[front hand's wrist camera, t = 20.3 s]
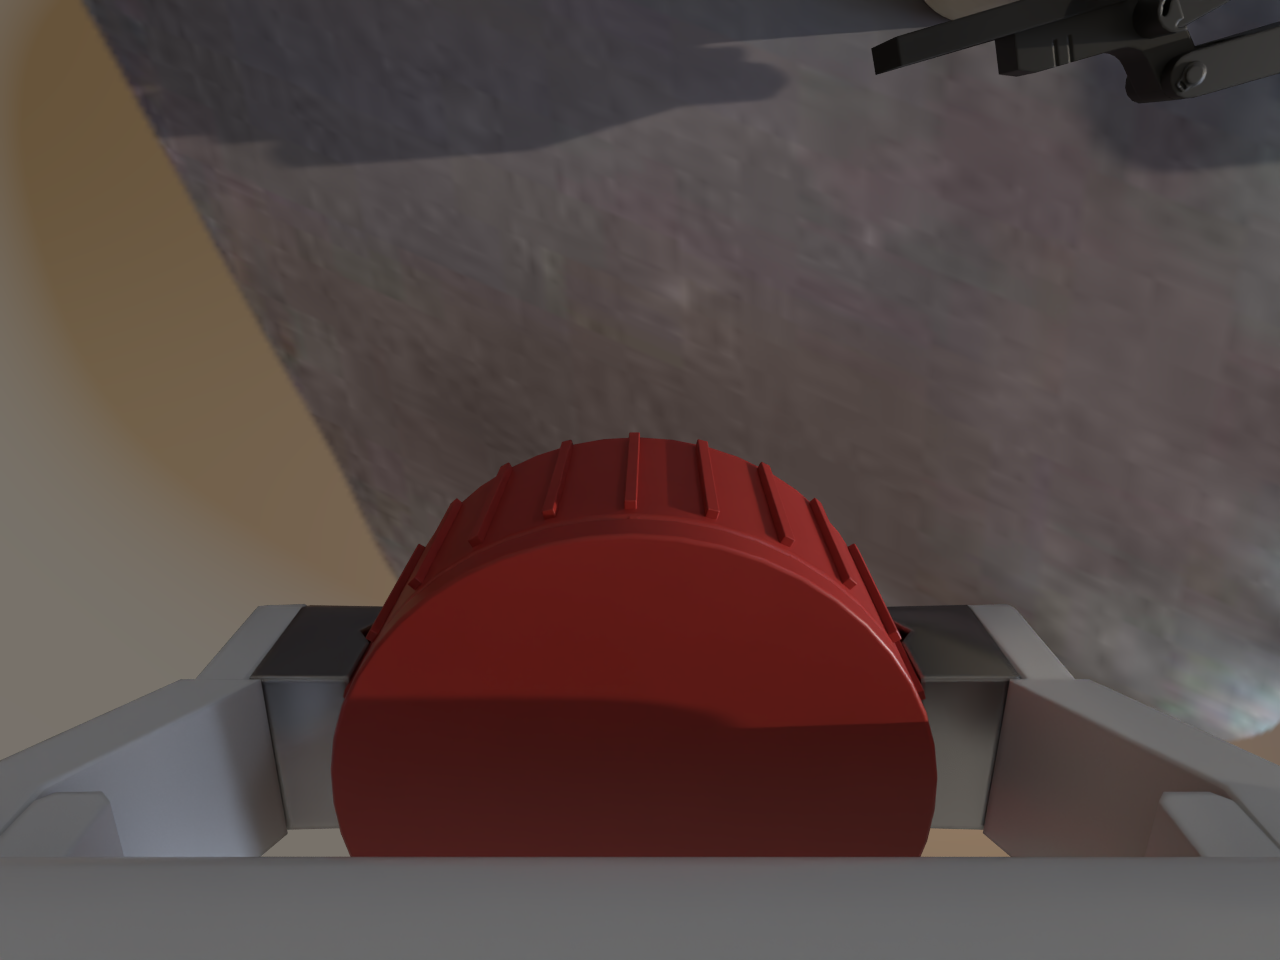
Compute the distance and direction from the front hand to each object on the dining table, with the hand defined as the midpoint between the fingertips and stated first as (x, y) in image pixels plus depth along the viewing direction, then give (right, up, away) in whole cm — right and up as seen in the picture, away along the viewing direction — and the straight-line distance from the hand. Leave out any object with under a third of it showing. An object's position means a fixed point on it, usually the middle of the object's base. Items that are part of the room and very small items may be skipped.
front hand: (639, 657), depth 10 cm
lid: (0, -1, -2) cm, 2 cm away
